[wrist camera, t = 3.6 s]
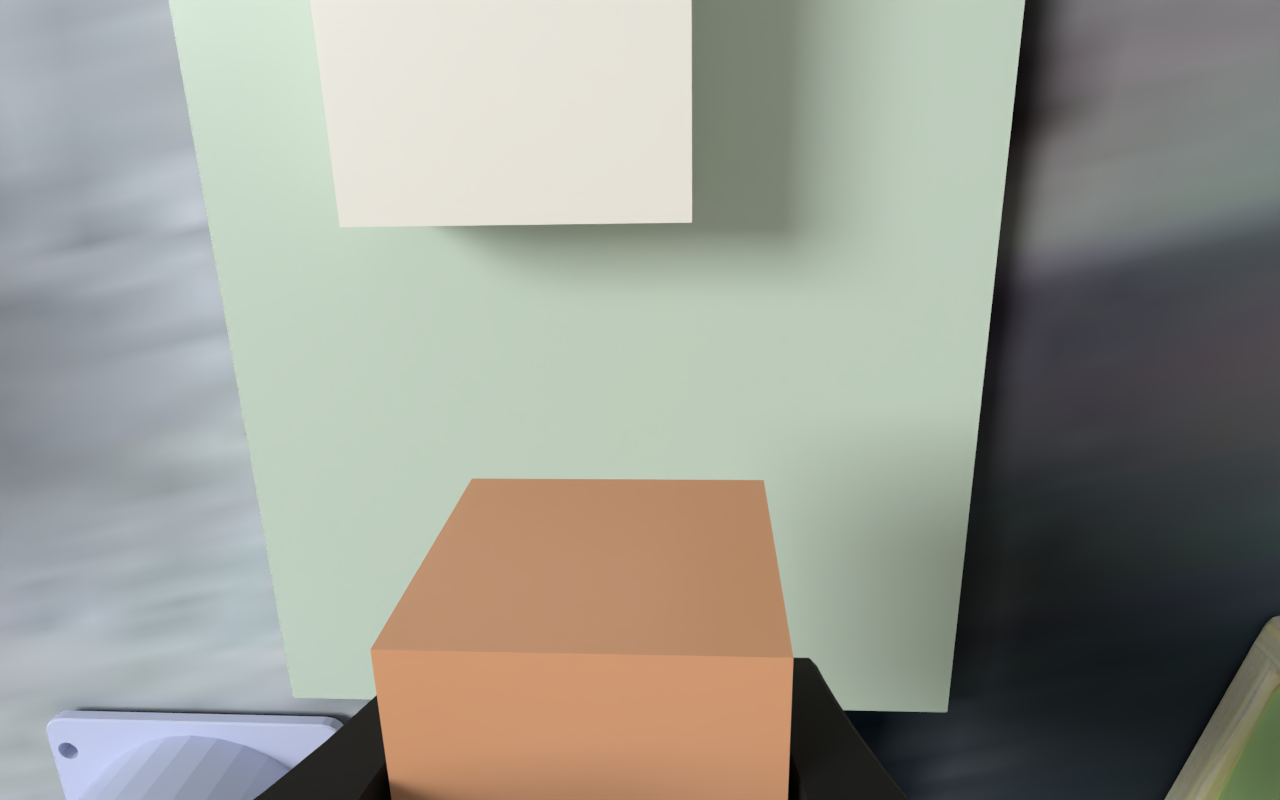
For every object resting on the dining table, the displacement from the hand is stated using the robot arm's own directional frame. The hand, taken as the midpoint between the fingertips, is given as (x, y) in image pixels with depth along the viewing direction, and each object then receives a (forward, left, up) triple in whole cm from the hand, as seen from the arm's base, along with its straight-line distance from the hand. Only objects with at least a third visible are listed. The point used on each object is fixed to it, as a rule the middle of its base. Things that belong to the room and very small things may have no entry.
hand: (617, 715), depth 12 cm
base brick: (+10, +2, -8) cm, 13 cm away
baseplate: (+5, +1, -9) cm, 10 cm away
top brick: (0, 0, -1) cm, 1 cm away
